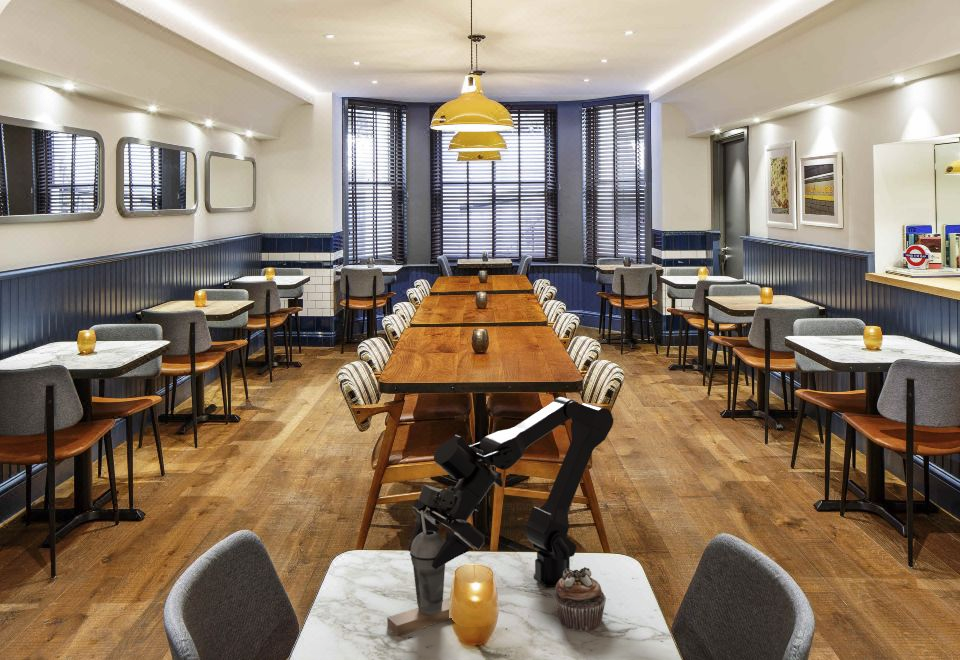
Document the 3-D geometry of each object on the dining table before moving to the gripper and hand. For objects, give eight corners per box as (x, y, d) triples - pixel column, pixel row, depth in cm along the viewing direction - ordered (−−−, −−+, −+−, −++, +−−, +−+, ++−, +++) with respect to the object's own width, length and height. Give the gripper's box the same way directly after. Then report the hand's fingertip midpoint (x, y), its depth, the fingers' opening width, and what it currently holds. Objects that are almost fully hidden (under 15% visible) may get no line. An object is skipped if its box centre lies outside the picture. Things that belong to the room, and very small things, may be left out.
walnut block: (459, 604, 167) (458, 594, 167) (469, 612, 164) (469, 602, 163) (387, 627, 158) (387, 617, 158) (397, 635, 155) (397, 625, 155)
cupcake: (564, 636, 154) (563, 584, 153) (549, 611, 163) (549, 563, 162) (613, 630, 156) (613, 579, 154) (596, 606, 165) (596, 558, 164)
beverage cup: (452, 615, 158) (450, 514, 156) (414, 620, 156) (412, 518, 154) (444, 598, 165) (442, 501, 163) (408, 603, 163) (405, 505, 161)
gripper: (419, 457, 167) (371, 522, 162) (469, 482, 151) (418, 554, 147) (453, 488, 172) (408, 551, 168) (505, 514, 157) (457, 585, 152)
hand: (421, 559), depth 159 cm, fingers open, 9 cm apart
